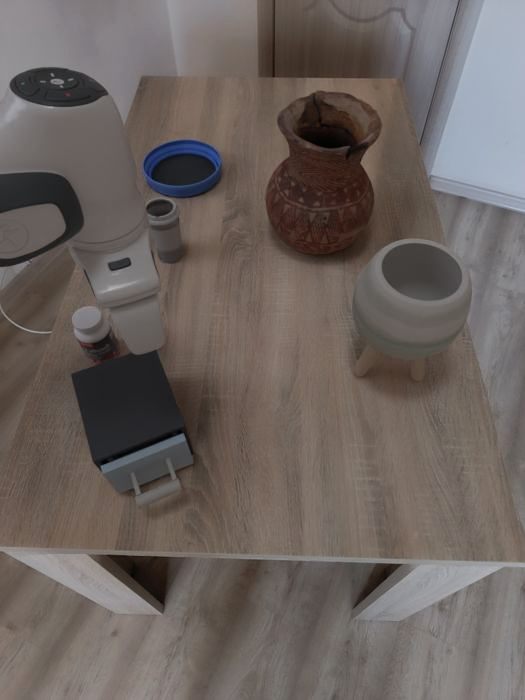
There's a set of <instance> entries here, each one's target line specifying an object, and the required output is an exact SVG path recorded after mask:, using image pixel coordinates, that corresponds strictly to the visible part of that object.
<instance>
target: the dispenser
mask: <svg viewBox="0 0 525 700" xmlns="http://www.w3.org/2000/svg"><path fill="white" fill-rule="evenodd" d="M157 350H158V349H156V350H154V351H151V352H148V353H145V354H140V355H135V354H133V353H132V352H129V353H127V354H124V355H120V356H117V357H116V358H115V359H112V360H109V361H106V362H103V363H100V364H95V365H92V366H89V367H86V368H83V369H80V370H77V371H75V372H72V373H70V377H71V381H72V384H73V389H74V394H75V397H76V401H77V404H78V405H77V406H78V409H79V412H80V418H81V421H82V425H83V429H84V432H85V433H84V434H85V436H86V437H85V438H86V440H87V445H88V448H89V452H90V456H91V460H92V463H93V464H94V465H95V467H96V468H97V469H98V470H99V472H101V473H102V470H101V466H102V465H105V464H107V463H109V462H108V461H107V459H108V458H111V457H113V456H116V455H118V454H121V453H123V452H126V451H128V450H131V449H134V448H136V447H139V446H141V445H144V444H146V443H149V442H151V441H154V440H156V439H159V438H161V437H164V436H166V435H169V434H171V433H174V432H176V431H177V432H178V435H180V434H182V433H184V436H185V438H186V441H187V444H188V447H189V450H190V453H191V456H193V455H196V453H195V450H194V447H193V444H192V441H191V437H190V434H189V432H188V428H187V426H186V422H185V420H184V418H183V415H182V412H181V410H180V407H179V405H178V402H177V399H176V397H175V394H174V391H173V389H172V386H171V384H170V382H169V379H168V377H167V374H166V370H165V368H164V366H163V363H162V361H161V358H160V356H159V353H158V351H157Z"/></svg>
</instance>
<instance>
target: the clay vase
mask: <svg viewBox="0 0 525 700" xmlns="http://www.w3.org/2000/svg"><path fill="white" fill-rule="evenodd" d="M276 124H277V126H278V129H279V130H280V133H281V134H282V135H283V137H284V138H285V140H286V143H287V144H288V145H287V146H288V151H289V156H288V157H286V158H285V159H283V160H282V161H281V162H280V163H279V164H278V165H277V167H276V168H275V169H274V171H273V172H272V175H271V176H270V178H269V180H268V183H267V186H266V188H265V208H266V214H267V217H268V220H269V223H270V225H271V227H272V229H273V231H274V232H275V234H276V235H277V236H278V238H279V239H280V240H281V241H282V242H283V243H284V244H286V245H287V246H288V247H290V248H292V249H294V250H296V251H298V252H300V253H305V254H310V255H328V254H331V253H335V252H339V251H341V250H344V249H346V248H348V247H349V246H350V245H352V244H354V243H355V242H356V241H357V240H358V239H359V238H360V237H361V235H362V234H363V232H364V231H365V229H366V227H367V226H368V223H369V221H370V219H371V217H372V214H373V211H374V207H375V206H374V205H375V191H374V187H373V183H372V181H371V178H370V177H369V175H368V173H367V171H366V169H365V167H364V166H363V165H362V161H363V158H364V156H365V154H366V152H367V151H368V150H369V149H370V147H372V146H373V145H374V144H375V143H376V142H377V140H378V139H379V137H380V136H381V133H382V127H383V123H382V119H381V116H379V113H378V111H377V110H376V109H375V108H373V106H372V105H371V104H369V103H367V102H366V101H364V100H362V99H359V98H357V97H355V96H354V95H353V94H350V93H346V92H343V91H342V92H341V91H327V90H316V91H313V92H311V93H310V94H308V95H307V96H303V97H301V96H300V97H298V98H296V99H295V100H292V101H291V102H290V103H289V104H288V105H287V107H284V108H283V109H282V110H280V112H278V114H277V118H276Z"/></svg>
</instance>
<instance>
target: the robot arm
mask: <svg viewBox="0 0 525 700" xmlns="http://www.w3.org/2000/svg"><path fill="white" fill-rule="evenodd" d="M137 173H138V172H137V164H136V161H135V156H134V153H133V150H132V146H131V143H130V139H129V136H128V133H127V129H126V127H125V123H124V121H123V118H122V115H121V113H120V111H119V108H118V106H117V104H116V102H115V100H114V98H113V96H112V95H111V94H110V92H109V91H108V89H106V87H104V86H103V85H102V84H101V83H100V82H98V81H97V80H96V79H94V78H93V77H91V76H89V75H88V74H86V73H84V72H81V71H77V70H74V69H69V68H67V67H58V66H42V67H41V66H40V67H34V68H30V69H27V70H25V71H22V72H20V73H18V74H16V75H14V77H12V78H11V80H10V81H9V83H8V87H7V89H6V91H5V94H4V96H3V98H2V99H1V100H0V268H7V267H13V266H17V265H21V264H23V263H26V262H28V261H30V260H33V259H34V258H37V257H39V256H42V255H44V254H45V253H47V252H49V251H51V250H54V249H55V248H57V247H59V246H61V245H62V244H64V243H65V245H66V247H67V249H68V251H69V253H70V256H71V258H72V260H73V262H74V263H75V265H76V266H77V267H78V269H79V270H80V272H81V273H82V274H83V275H84V277H85V279H86V280H87V282H88V284H89V286H90V288H91V291H92V293H93V297H94V298H95V300H96V302H97V304H98V306H99V308H100V309H102V310H104V309H106V310H107V312H108V313H109V316H110V318H111V320H112V321H113V323H114V325H115V327H116V329H117V331H118V332H119V334H120V336H121V338H122V340H123V341H124V343H125V345H126V347H127V348H128V350H129V351H130V353H133V354H135V355H140V354H145V353H148V352H151V351H154V350H158V349H160V348H162V347H163V346H164V345H165V342H166V341H165V340H166V339H165V338H166V337H165V330H164V322H163V318H162V317H163V316H162V310H161V303H160V299H159V296H158V293H161V292H162V290H163V287H162V283H161V278H160V274H159V271H158V268H157V264H156V259H155V246H154V239H153V234H152V230H151V226H150V222H149V218H148V214H147V210H146V206H145V203H146V202H145V200H144V197H143V195H142V193H141V192H140V191H139V189H138V186H137V178H138V177H137V175H138V174H137Z"/></svg>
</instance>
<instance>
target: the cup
mask: <svg viewBox="0 0 525 700" xmlns="http://www.w3.org/2000/svg"><path fill="white" fill-rule="evenodd" d="M145 206H146V210H147V214H148V218H149V222H150V226H151V230H152V234H153V239H154V249H155V250H156V253H157V255H158V258H159V260H160V261H161V262H162V263H165V264H174V263H177V262H178V261H180V260H181V258H182V257H183V250H182V232H181V222H180V215H181V209H180V207H179V205H178V204H176V202H175V201H174V200H173V199H171V198H169V197H167V196H164V197H163V196H158V197H154V198H151V199H149V200H148V201H146V202H145Z"/></svg>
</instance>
